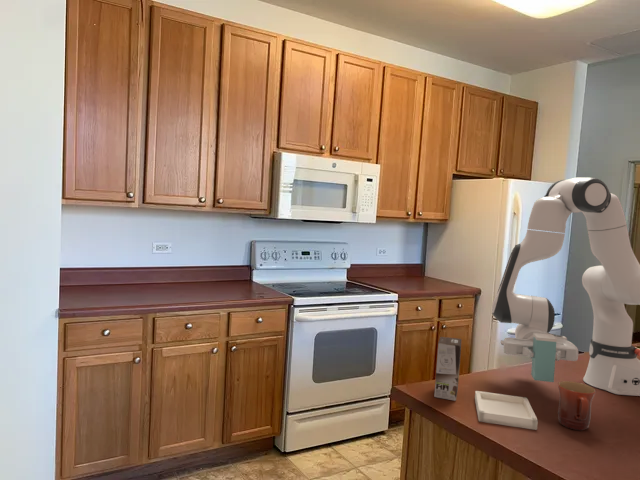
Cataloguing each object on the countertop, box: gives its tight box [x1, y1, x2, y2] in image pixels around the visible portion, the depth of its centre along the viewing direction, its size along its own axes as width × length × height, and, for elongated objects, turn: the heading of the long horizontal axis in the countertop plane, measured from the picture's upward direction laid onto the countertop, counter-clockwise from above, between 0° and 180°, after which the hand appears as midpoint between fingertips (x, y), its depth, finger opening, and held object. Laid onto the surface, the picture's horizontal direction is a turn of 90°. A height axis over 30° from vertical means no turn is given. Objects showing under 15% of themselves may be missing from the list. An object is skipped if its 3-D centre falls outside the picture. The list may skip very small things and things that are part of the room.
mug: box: [557, 380, 597, 431], centre depth 125 cm, size 12×9×10 cm
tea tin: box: [530, 333, 557, 383], centre depth 138 cm, size 5×5×12 cm
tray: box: [474, 390, 539, 431], centre depth 132 cm, size 14×16×2 cm
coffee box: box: [433, 336, 462, 402], centre depth 144 cm, size 9×6×16 cm
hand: (544, 356), depth 137 cm, fingers closed on tea tin, 5 cm apart
